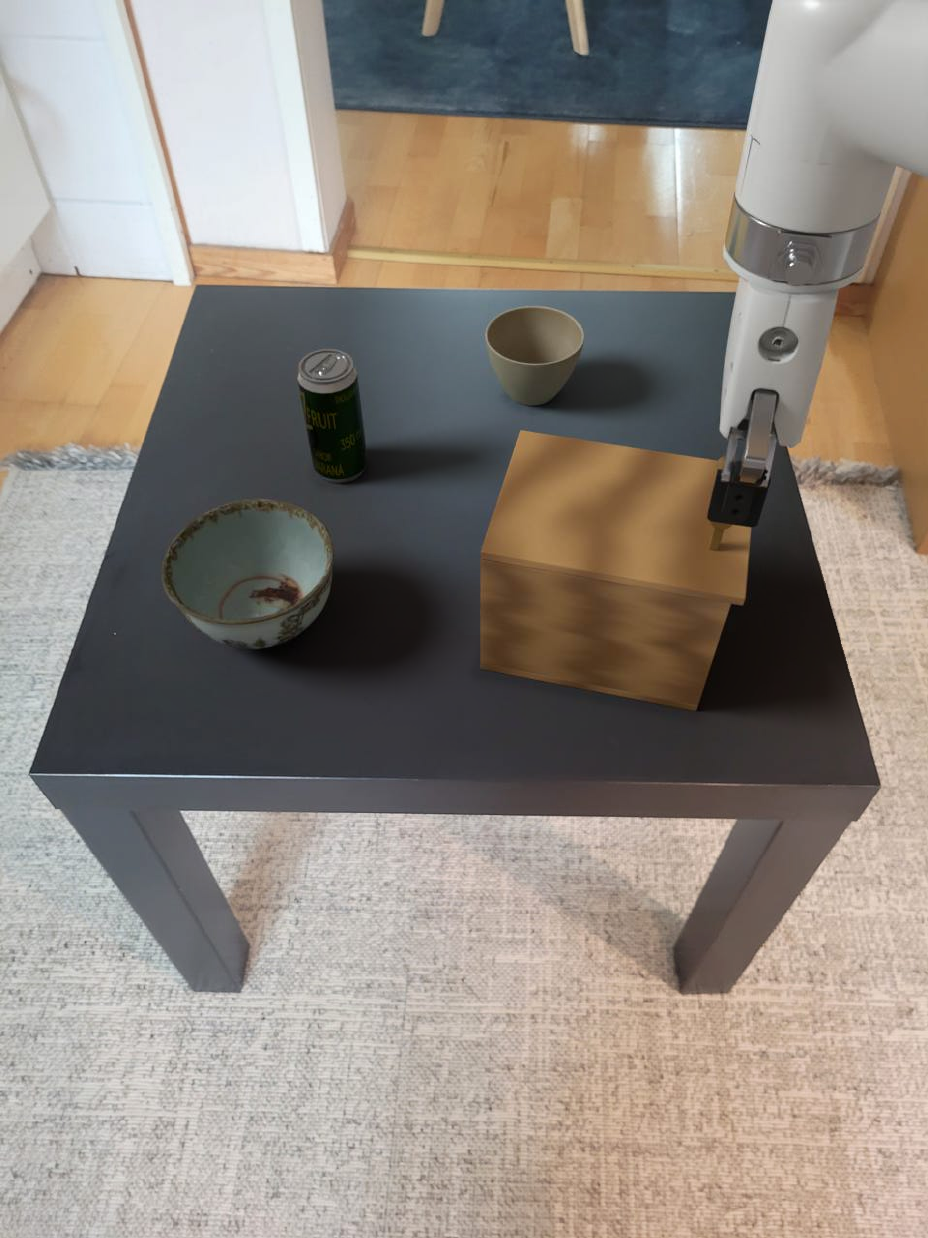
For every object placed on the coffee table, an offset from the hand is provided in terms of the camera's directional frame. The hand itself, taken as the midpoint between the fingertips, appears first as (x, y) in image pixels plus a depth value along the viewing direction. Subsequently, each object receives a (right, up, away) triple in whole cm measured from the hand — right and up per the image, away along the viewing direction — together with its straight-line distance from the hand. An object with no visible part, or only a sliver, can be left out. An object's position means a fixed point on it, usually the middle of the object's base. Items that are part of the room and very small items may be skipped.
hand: (736, 471), depth 64 cm
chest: (-7, -11, +16) cm, 21 cm away
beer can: (-31, +5, +29) cm, 43 cm away
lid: (-7, -2, +6) cm, 9 cm away
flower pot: (-11, +14, +36) cm, 41 cm away
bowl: (-36, -10, +17) cm, 41 cm away
